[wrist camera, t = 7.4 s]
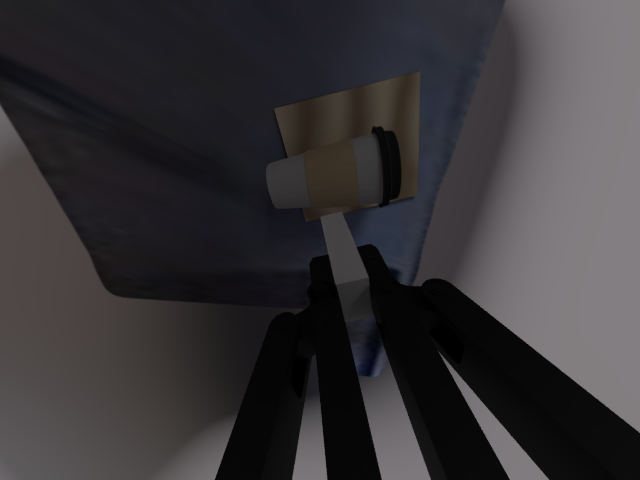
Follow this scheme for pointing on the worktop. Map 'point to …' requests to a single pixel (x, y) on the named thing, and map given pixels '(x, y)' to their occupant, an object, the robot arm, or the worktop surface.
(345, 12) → the worktop surface
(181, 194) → the worktop surface
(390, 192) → the coffee cup
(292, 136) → the brown striped mat
